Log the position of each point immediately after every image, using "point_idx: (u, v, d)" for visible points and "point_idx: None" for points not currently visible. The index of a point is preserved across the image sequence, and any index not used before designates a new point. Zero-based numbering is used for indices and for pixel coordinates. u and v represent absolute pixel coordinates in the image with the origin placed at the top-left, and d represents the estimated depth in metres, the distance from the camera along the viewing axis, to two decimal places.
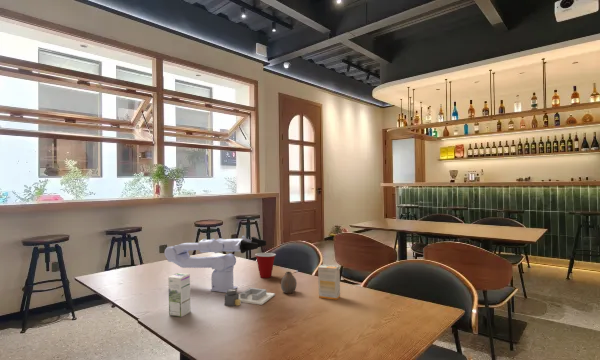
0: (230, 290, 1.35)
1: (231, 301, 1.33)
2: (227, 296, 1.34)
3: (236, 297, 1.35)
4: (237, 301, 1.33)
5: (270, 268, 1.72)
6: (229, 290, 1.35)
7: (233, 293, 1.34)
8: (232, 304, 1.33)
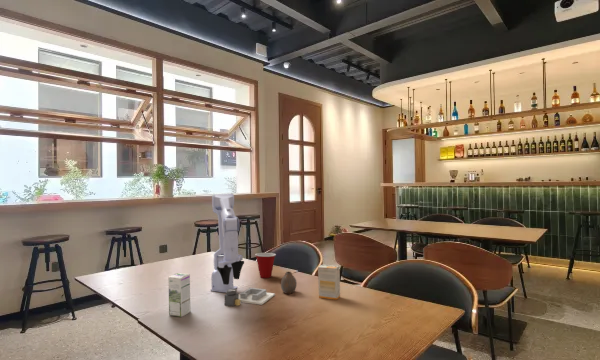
0: (230, 290, 1.35)
1: (231, 301, 1.33)
2: (227, 296, 1.34)
3: (236, 297, 1.35)
4: (237, 301, 1.33)
5: (270, 268, 1.72)
6: (229, 290, 1.35)
7: (233, 293, 1.34)
8: (232, 304, 1.33)
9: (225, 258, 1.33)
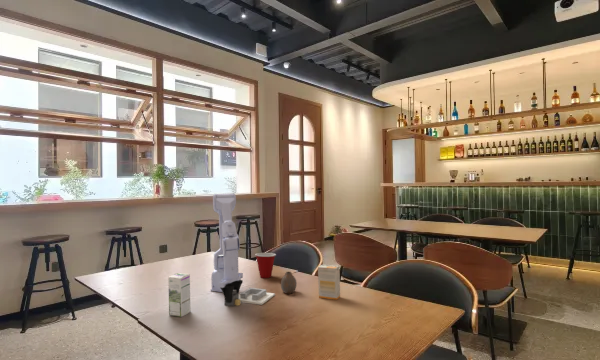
0: None
1: (231, 301, 1.33)
2: None
3: (236, 297, 1.35)
4: (237, 301, 1.33)
5: (270, 268, 1.72)
6: None
7: (233, 293, 1.34)
8: (232, 304, 1.33)
9: (225, 277, 1.33)
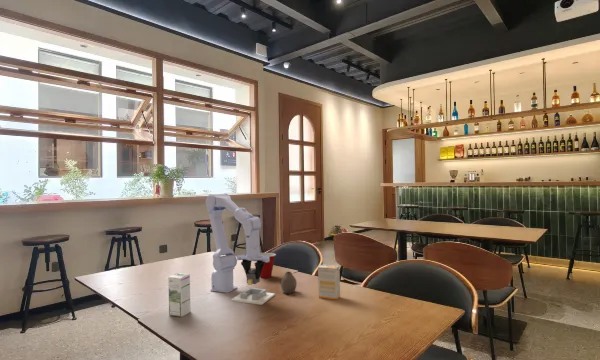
0: (252, 269, 1.42)
1: None
2: None
3: (251, 277, 1.40)
4: None
5: (270, 268, 1.72)
6: (252, 268, 1.43)
7: (249, 272, 1.41)
8: None
9: None
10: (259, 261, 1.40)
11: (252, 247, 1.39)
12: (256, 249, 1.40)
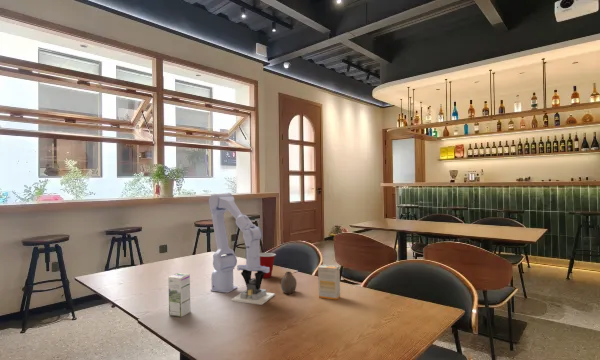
0: (253, 279, 1.42)
1: None
2: None
3: (252, 287, 1.40)
4: None
5: (270, 268, 1.72)
6: (253, 279, 1.42)
7: (249, 282, 1.41)
8: None
9: None
10: (259, 271, 1.40)
11: (252, 257, 1.39)
12: (256, 259, 1.40)
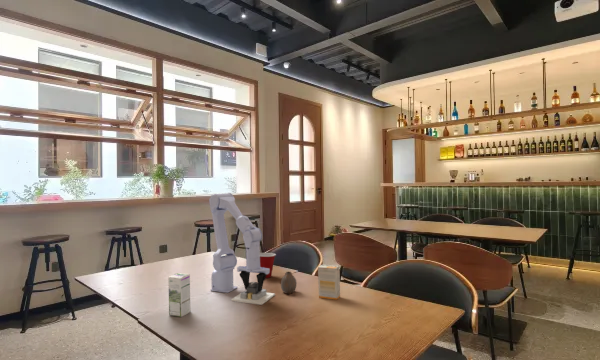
0: (253, 282, 1.42)
1: None
2: None
3: (252, 291, 1.40)
4: None
5: (270, 268, 1.72)
6: (253, 282, 1.43)
7: (249, 285, 1.41)
8: None
9: None
10: (259, 273, 1.40)
11: (252, 259, 1.39)
12: (256, 261, 1.40)
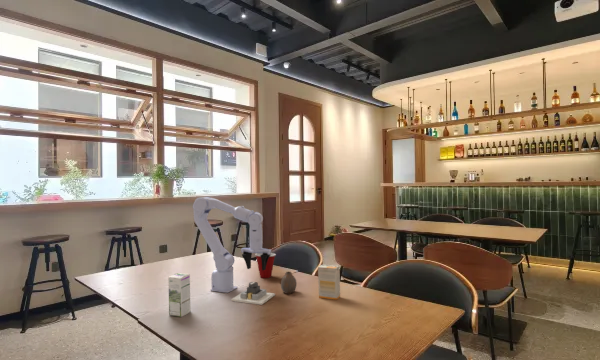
0: (253, 282, 1.42)
1: None
2: None
3: (252, 291, 1.40)
4: None
5: (270, 268, 1.72)
6: (253, 282, 1.43)
7: (249, 285, 1.41)
8: None
9: None
10: (262, 253, 1.51)
11: (255, 240, 1.50)
12: (259, 242, 1.51)
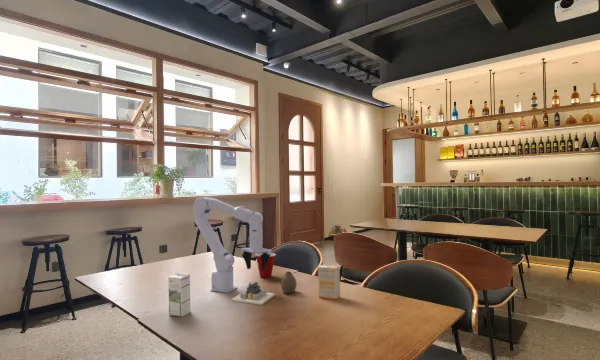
0: (253, 282, 1.42)
1: None
2: None
3: (252, 291, 1.40)
4: None
5: (270, 268, 1.72)
6: (253, 282, 1.43)
7: (249, 285, 1.41)
8: None
9: None
10: (262, 253, 1.51)
11: (255, 240, 1.50)
12: (259, 242, 1.51)
